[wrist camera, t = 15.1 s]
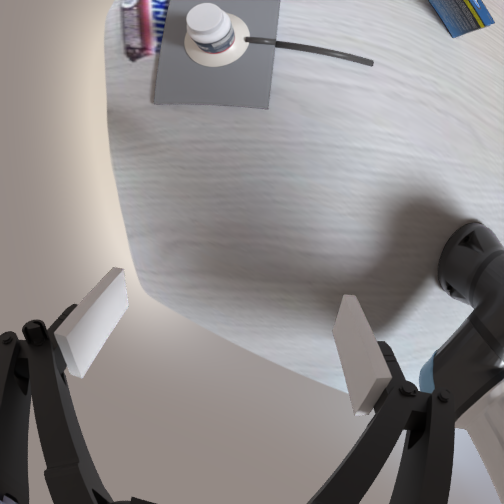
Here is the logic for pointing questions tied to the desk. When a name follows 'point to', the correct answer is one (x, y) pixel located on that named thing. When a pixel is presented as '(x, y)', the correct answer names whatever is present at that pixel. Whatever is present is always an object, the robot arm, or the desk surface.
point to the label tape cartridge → (462, 15)
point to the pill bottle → (210, 28)
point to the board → (225, 57)
